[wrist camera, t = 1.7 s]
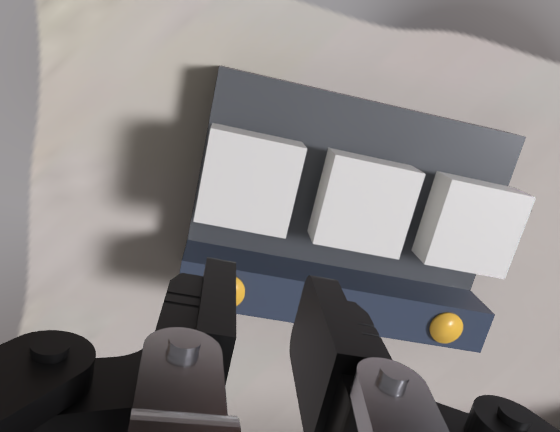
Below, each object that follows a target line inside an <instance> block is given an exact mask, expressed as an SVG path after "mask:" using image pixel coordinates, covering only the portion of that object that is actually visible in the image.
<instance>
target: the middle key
mask: <svg viewBox="0 0 560 432" xmlns="http://www.w3.org/2000/svg"><path fill="white" fill-rule="evenodd" d="M425 175H426V174H425V173H424V172H422V171H420V170H419V169H417V168H415V167H414V166H412V165H407V164H403V163H398V162H393V161H389V160H384V159H379V158H375V157H370V156H365V155H361V154H356V153H351V152H347V151H342V150H337V149H333V148H328V151H327V155H326V159H325V163H324V167H323V171H322V174H321V178H320V182H319V186H318V190H317V194H316V198H315V202H314V206H313V210H312V214H311V218H310V222H309V226H308V230H307V231H308V234H309V236H310V239H311V241H312V243H313V244H316V245H322V246H327V247H333V248H338V249H344V250H349V251H354V252H360V253H365V254H371V255H376V256H381V257H387V258H392V259H398V260H399V258H400V254H401V251H402V248H403V245H404V242H405V238H406V235H407V232H408V229H409V226H410V223H411V219H412V216H413V213H414V210H415V207H416V203H417V200H418V197H419V194H420V191H421V187H422V184H423V181H424V178H425Z"/></svg>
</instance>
